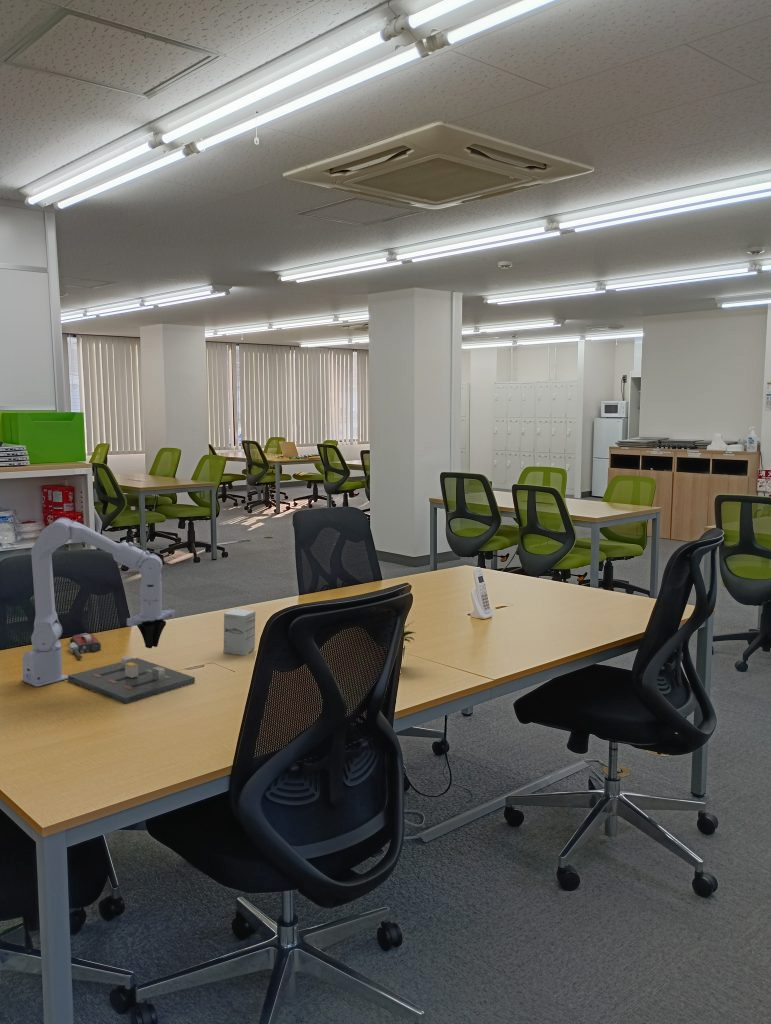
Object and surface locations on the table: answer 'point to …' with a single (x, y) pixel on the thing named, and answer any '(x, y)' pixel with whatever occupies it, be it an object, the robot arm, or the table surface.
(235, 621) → the supplement box
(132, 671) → the block
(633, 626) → the table surface
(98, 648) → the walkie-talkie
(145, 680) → the breaker board
